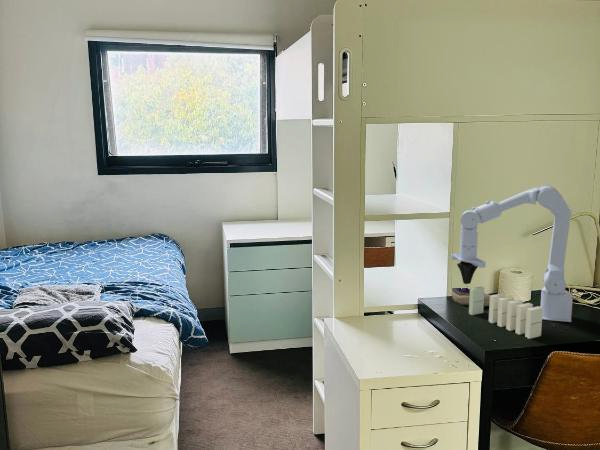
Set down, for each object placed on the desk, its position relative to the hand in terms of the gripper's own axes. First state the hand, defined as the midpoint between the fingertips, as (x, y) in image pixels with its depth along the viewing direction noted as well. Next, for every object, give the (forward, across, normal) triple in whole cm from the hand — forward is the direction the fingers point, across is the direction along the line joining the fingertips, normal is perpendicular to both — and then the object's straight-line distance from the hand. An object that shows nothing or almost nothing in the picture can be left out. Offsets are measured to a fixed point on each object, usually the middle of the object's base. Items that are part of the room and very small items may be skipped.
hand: (466, 283), depth 191 cm
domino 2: (+9, +14, 0) cm, 17 cm away
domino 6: (+9, +29, 0) cm, 30 cm away
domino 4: (+9, +21, 0) cm, 23 cm away
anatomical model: (+10, -6, +8) cm, 14 cm away
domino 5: (+9, +25, 0) cm, 27 cm away
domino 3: (+9, +18, 0) cm, 20 cm away
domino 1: (+9, +5, 0) cm, 11 cm away
